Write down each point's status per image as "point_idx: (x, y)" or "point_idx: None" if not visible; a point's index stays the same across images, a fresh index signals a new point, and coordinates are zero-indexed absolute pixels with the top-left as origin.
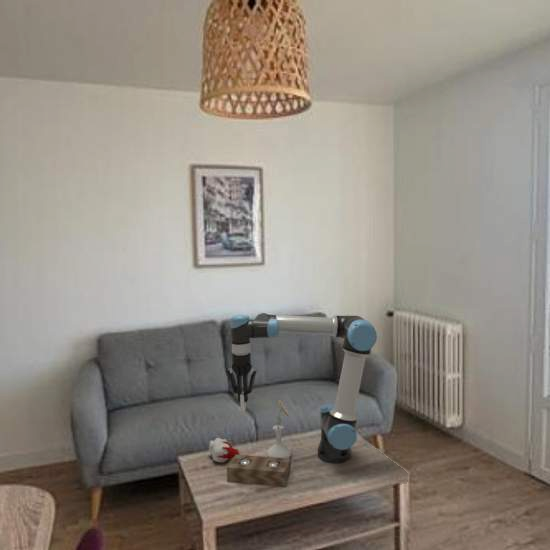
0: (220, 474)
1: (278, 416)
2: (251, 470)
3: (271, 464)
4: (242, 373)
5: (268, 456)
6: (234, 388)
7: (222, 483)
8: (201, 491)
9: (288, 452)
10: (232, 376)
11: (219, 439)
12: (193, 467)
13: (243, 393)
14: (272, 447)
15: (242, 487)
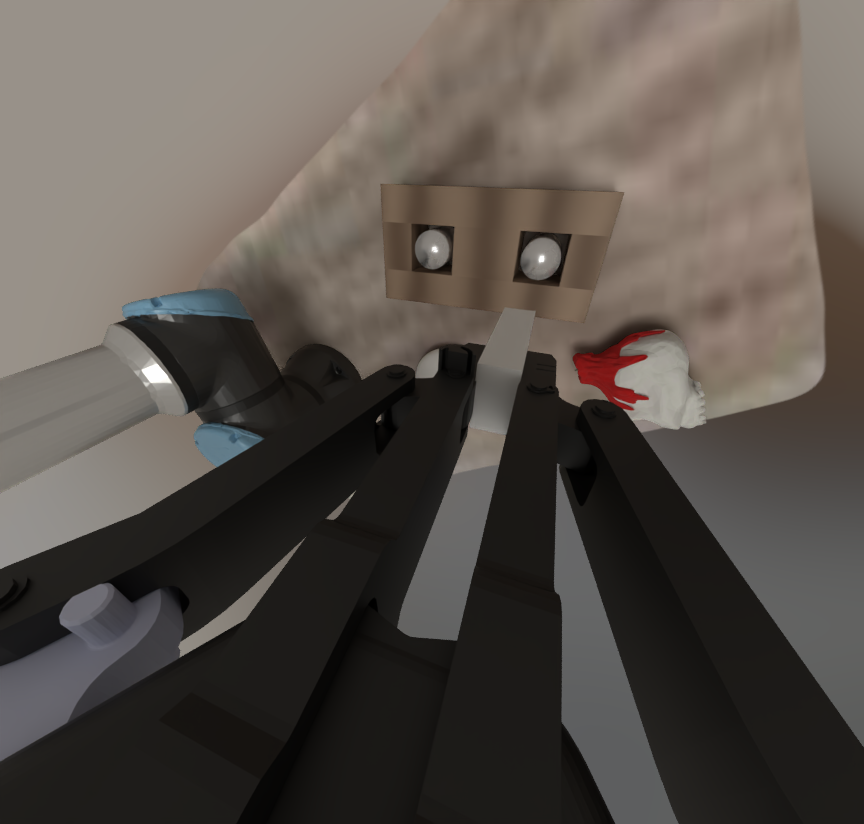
0: (646, 251)
1: None
2: (507, 188)
3: (436, 243)
4: (302, 695)
5: None
6: (609, 439)
7: (638, 171)
8: (756, 59)
9: (419, 373)
10: (705, 707)
11: (661, 410)
12: (774, 303)
13: (489, 417)
14: None
15: (548, 149)
